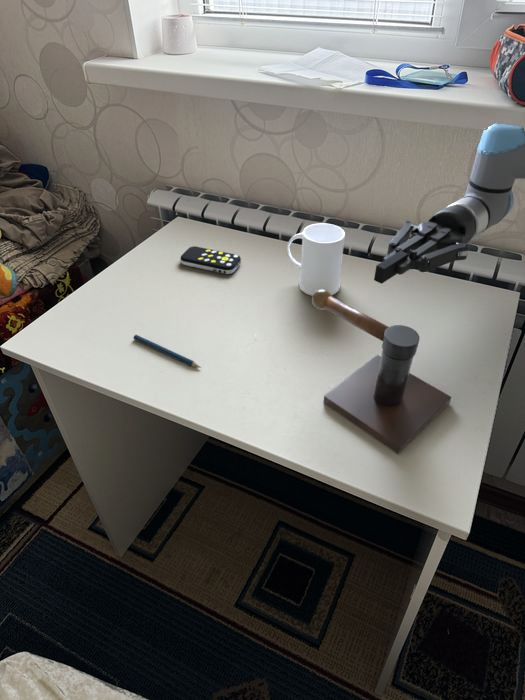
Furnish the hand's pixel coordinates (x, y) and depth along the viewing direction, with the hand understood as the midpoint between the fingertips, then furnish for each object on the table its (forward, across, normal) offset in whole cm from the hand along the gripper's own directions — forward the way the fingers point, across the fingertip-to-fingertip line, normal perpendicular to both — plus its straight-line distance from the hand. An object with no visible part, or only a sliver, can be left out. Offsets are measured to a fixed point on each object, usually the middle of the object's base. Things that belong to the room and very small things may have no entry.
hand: (379, 274), depth 79 cm
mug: (-9, +21, -16) cm, 28 cm away
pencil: (+26, +24, -16) cm, 38 cm away
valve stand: (+8, -10, -16) cm, 20 cm away
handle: (+8, -3, -5) cm, 10 cm away
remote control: (+1, +41, -16) cm, 44 cm away
